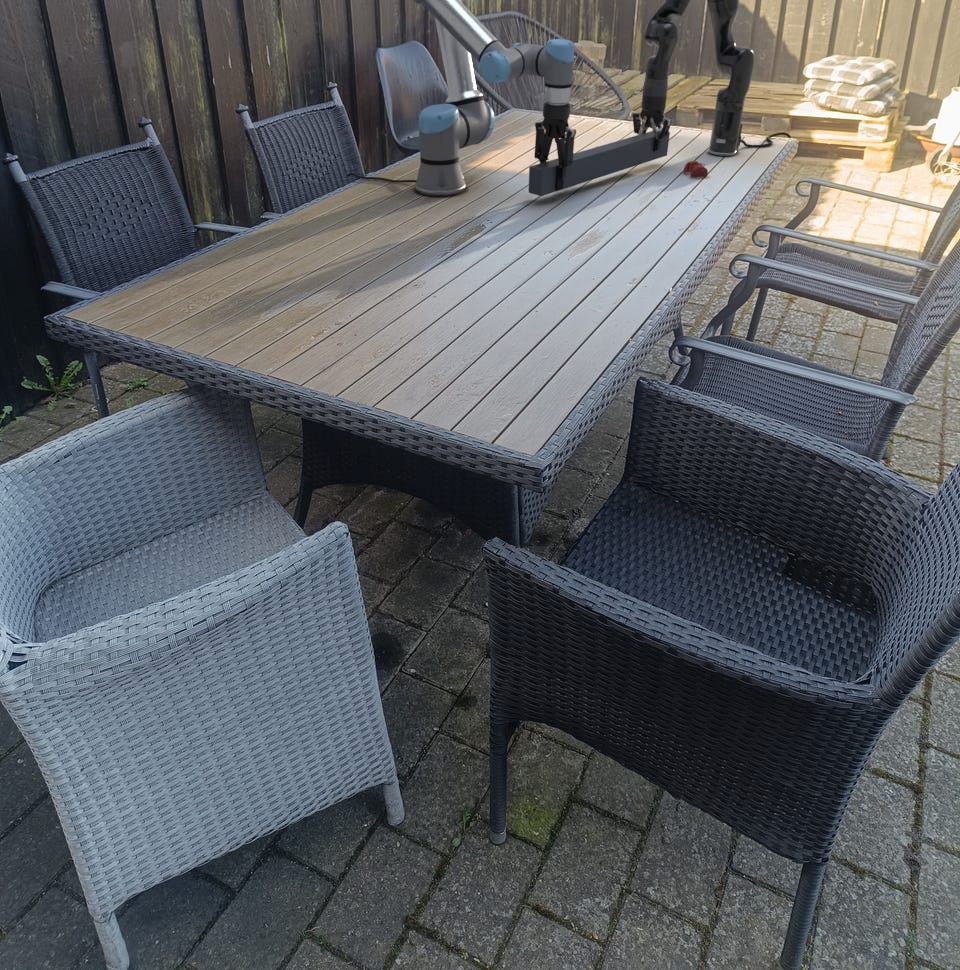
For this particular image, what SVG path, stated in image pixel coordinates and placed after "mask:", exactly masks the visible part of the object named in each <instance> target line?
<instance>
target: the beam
mask: <svg viewBox="0 0 960 970" xmlns="http://www.w3.org/2000/svg"><path fill="white" fill-rule="evenodd" d="M670 136H671V132H670V131H669V132H668V135H667V137H665V138H662V139H661V145H660V149H659V150H658V151H656V152H654V151H653V147H654V140H655V136H654V133H653V130H651V131H650V130H649V131H646V133H643V134H640V135H638V134H637V135H633V136H630V137H626V138H623V139H620V140H615V141H612V142H609V143H606V144H602V145H599V146H595V147H592V148H588V149H585V150H582V151H578V152H575V153H573V164H572V165H571V166H567V168H566V177H565V178H564V183H563V189H561V190H558V191H557V190H555V185H556V170H557V166H559V161H558V157H557V158H554V159H549V160H547V162H544V163H540V162H539V163H537V164H533V165H530V166H529V168H528V193H529V194H532V195H535V196H538V197H543V196H547V195H550V194H553V193H556V192H559V191H562V190H565V189H568V188H573V187H575V186H577V185H580V184H583V183H587V182H590V181H593V180H596V179H599V178H602V177H605V176H608V175H611V174H613V173H617V172H620V171H623V170H627V169H630V168H633V167H636V166H639V165H642V164H646V163H649V162H652V161H655V160H658V159H661V158H664V157H667V156H668V150H669V144H670Z"/></svg>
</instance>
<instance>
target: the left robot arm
mask: <svg viewBox="0 0 960 970" xmlns="http://www.w3.org/2000/svg"><path fill="white" fill-rule="evenodd" d="M413 2H414V3H416V4H418V5H423V7H425V8H426V10H427V11H428V12H429V13H430V14H431V15H432V16H433V17H434V22H435V27H436V33H437V38H438V43H439V48H440V55H441V60H442V64H443V65H442V66H443V69H444V75H445V80H446V86H447V92H448V95H447V98H446V100H445V103H439V104H431V105H428V106H426V107H424V108H423V109H422V110H421V111H420V112H419V114H418V115H419V116H418V126H417V127H418V137H419V138H418V139H419V157H420V158H419V159H420V161H419V162H420V164H419V168H418V172H417V176H416V179H390V178H385V177H380V176H379V177H378V176H361V175H359V174H357V173H355V172H349V173H347V175H346V177H351V176H354V177H356V178H358V179H360V180H361V179H362V180H375V181H376V180H377V181H385V182H390V183H395V184H396V183H397V184H400V183H414V184H415V185H414V186H415V192H417V193H418V194H420V195H424V196H430V197H450V196H455V195H459V194H461V193H463V192H464V191H466V181H465V177H464V174H463V172H462V169H461V165H460V149H463V148H467V147H470V146H474V145H475V146H476V145H479V144H480V143H482V142H485V141H486V140H488V139H489V138H490V137H491V135H492V133H493V131H494V129H495V124H496V119H495V118H496V117H495V113H494V109H493V107H492V106H490V104H489V103H488V102H487V101H485V98H484V94H483V92H481V91H480V90H479V89H477V88H478V87H477V82H476V81H477V80H476V76H475V69H474V64H473V59H474V60H476V62H477V63H479V65H478V69H479V72H480V75H481V77H482V79H483V80H484V81H486V82H487V83H489V84H495V83H504V82H505V81H509V80H513V79H518V78H522V77H526V76H527V77H528V76H535V77H540V78H544V89H543V101H544V103H543V105H542V106H543V107H542V117H543V120H542V121H537V122H535V123H534V127H535V140H534V141H535V142H534V158H535V160H538V161H539V164H540V163H544V162H547V161H550V159H549V155H550V151H551V148H552V145H553V140H554V142H555V144H556V152H557V158H558V161H559V166H557V170H556V185H555V190H557V191H556V192H559V191H562V190H564V189H563V183H564V178H565V177H566V168H567V166H571V165H572V164H573V154H574V146H575V137H576V134H577V130H576V129H572V128H571V127H570V125H569V118H570V116H571V104H570V102H571V101H572V88H573V87H572V85H573V73H574V62H575V44H574V42H573V41H572V40H569V39H565V38H564V39H560V38H554V39H553V38H552V39H549V40H548V41H547V43H546V46H545V45H539V44H532V43H529V42H515V43H513V44H512V46H510V47H508V48H506V47H505V46H504V44H503V43H501V41H499V40H498V39H497V37H495V36H494V35H493V34H492V32H491V31H490V30H489V29H487V27H486V26H485V25H484V24H483V23H482V22H481V21H480V20H479V19H478V18H477V17H476V16H475V14H473V13H472V11H471V10H470V9H469V8H468V7H467V6H466V5H465V4H464V3H463V1H462V0H413ZM472 57H473V59H472ZM561 189H562V190H561ZM558 190H559V191H558Z"/></svg>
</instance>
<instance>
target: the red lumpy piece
mask: <svg viewBox="0 0 960 970" xmlns="http://www.w3.org/2000/svg"><path fill="white" fill-rule="evenodd" d="M689 173H690V174H689ZM708 173H709V171H708V168H707V167H706V164H704V163H702V162H699V161H697V160H690V161H687V163H685V165H684V167H683V174H689V176H690V178H702V177H705V178H706V177H708Z"/></svg>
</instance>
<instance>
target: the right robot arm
mask: <svg viewBox="0 0 960 970" xmlns="http://www.w3.org/2000/svg"><path fill="white" fill-rule="evenodd" d="M690 3H691V0H664V1H663V3H662V4H661V5H660V7H658V9H657V10H656V11H655V13H654V14H653V15H652V17H651V18H650V19H649V21H648V22H647V25H646V27H645V30H644V34H643V35H644V41H645V43H646V44H647V45H648V46H649V47H655V48H658V50H657V52H656V54H655V55H650V56H649V57H648V58H647V61H646V64H645V65H646V66H645V77H644V81H643V87H642V96H641V111H640V112H639V111H638V112H635V113H633V114H632V123H633V124H632V126H633V133H634V134H637V135H640V134H643V133H647V132H648V129H649V128H650V129H652V130H651V131H653V133H654V136H655V140H654V147H653V151H654V152H656V151H658V150H659V149H660V145H661V139H662V138H665V137H667V135H668V132H670V130H671V129H670V128H671V126H672V122H673V119H672V118H667V117H666V116H665V110H666V106H667V105H666V104H667V97H668V87H669V72H670V65H671V61H672V58H673V56H674V53H675V50H676V48H677V44H678V41H679V29H678V26H677V25H676V24H675V23H674V22H672V21H673V20H676V19H680V18H683V16H684V14H685V13H686V11H687V8H688V6H689V5H690ZM706 3H707V8H708V12H709V16H710V22H711V27H712V33H713V41H714V53H715V62H716V67H717V70H718V72H719V74H720V75H722V76H725V77H728V78H730V79H729V83H728V86H726V87H723V88H720V89H719V90H718V91H717V95H716V100H715V101H716V102H715V110H714V115H713V121H712V128H711V134H710V141H709V147H708V150H707V151H708V153H709V154H710V155H712V156H717V157H731V156H735V155H736V154H738V153H739V148H740V146H741V143H742V144H743V146H745V147H747V148H765V147H769V146H772V145H773V143H774V142H773V141H772V140H771V138H774V137H777V136H786V137H787V138H788V139H789V138H792V136H791V134H790V133H787V132H784V131H783V132H776V133H773V134H770V135H768V136H766V138H765V140H766V141H767V142H768V143H764V144H763V143H762V144H748V143H747V142H746V141H745V140H743V139H742V136H741V135H742V130H743V123H742V119H743V113H744V108H745V101H746V96H747V94H748V92H749V91H750V88H751V87H750V86H751V82H752V78H753V72H754V68H755V61H756V57H755V52H754V51H753V50H752V49H751V48H749V47H745V46H739V45H737V44H736V40H735V37H734V25H735V20H736V18H737V15H738V12H739V10H740V9H739V8H740V0H706Z"/></svg>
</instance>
